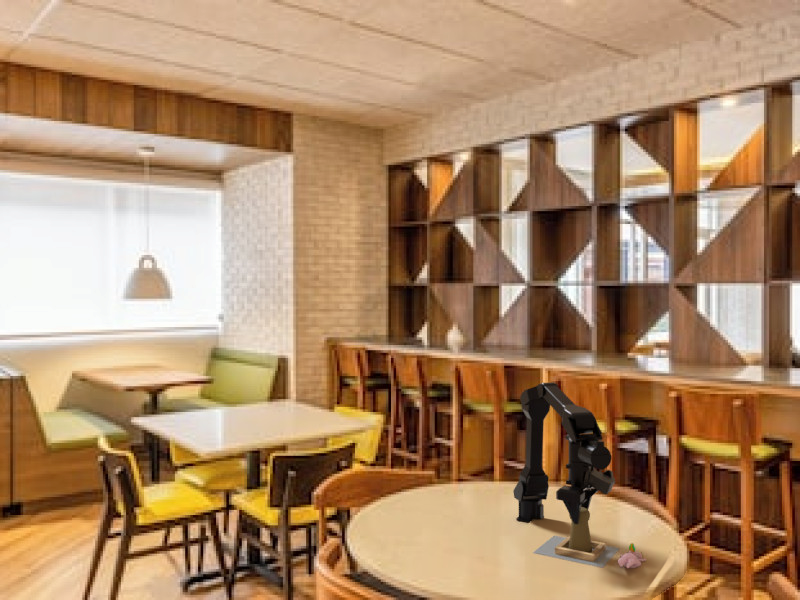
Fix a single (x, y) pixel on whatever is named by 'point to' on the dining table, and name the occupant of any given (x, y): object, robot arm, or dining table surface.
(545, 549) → the grey base plate
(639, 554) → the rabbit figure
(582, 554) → the snap socket
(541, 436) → the robot arm
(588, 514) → the tan tapered cylinder
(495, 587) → the dining table surface
